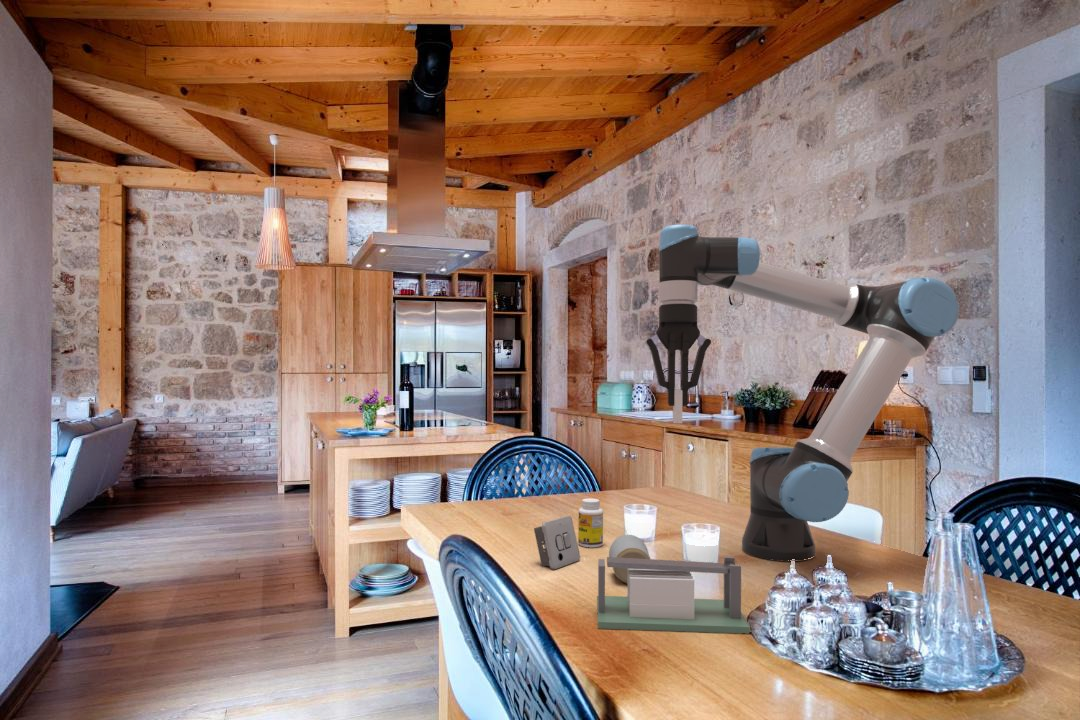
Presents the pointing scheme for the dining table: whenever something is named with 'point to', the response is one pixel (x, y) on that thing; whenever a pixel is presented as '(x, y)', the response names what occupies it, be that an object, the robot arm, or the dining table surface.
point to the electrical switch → (557, 542)
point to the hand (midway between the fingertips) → (677, 422)
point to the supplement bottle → (590, 524)
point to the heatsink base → (671, 603)
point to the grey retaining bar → (669, 565)
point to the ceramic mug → (627, 552)
